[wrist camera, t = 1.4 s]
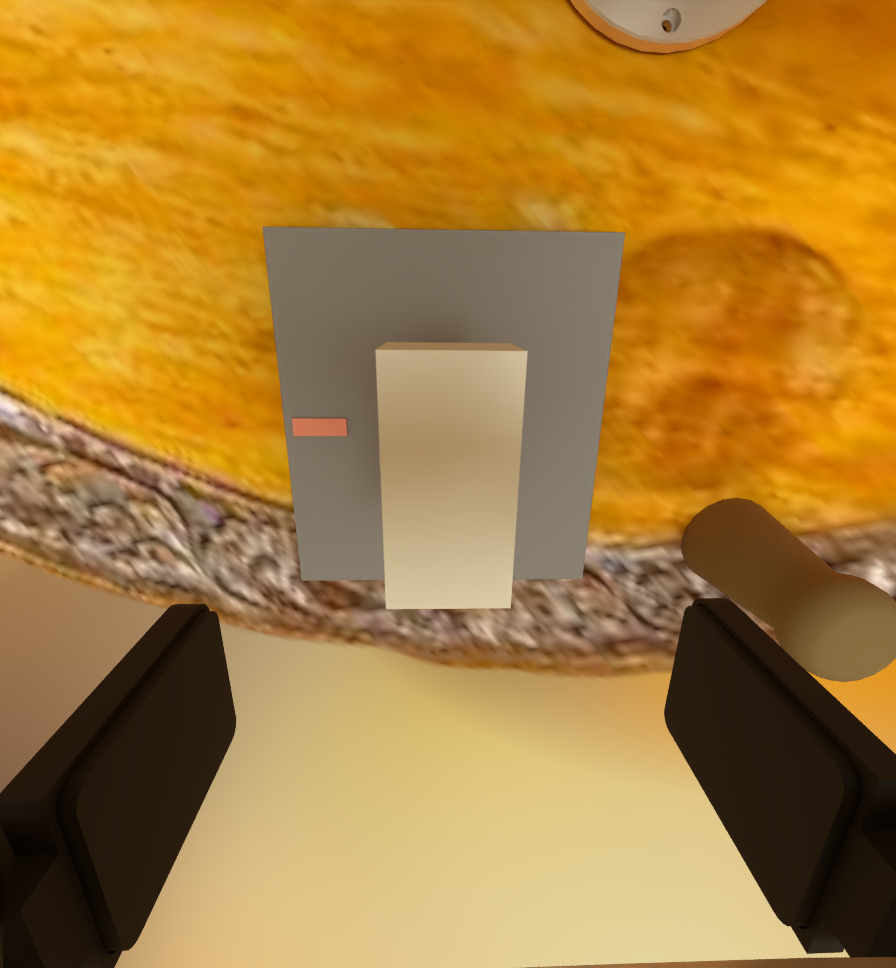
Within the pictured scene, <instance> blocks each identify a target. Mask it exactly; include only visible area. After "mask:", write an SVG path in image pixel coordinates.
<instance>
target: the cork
mask: <svg viewBox="0 0 896 968" xmlns="http://www.w3.org/2000/svg"><path fill="white" fill-rule="evenodd" d="M682 554H683V557H684V560H685V563H686V564H687V565H688V566H689V568H690V569H691V570H692V571H693V572H694V573H696V574H697V575H699V576H700V577H701V578H703V579H704V580H706V581H707V582H708V583H710V584H711V585H713V586H714V587H716V588H717V589H718V590H720V591H721V592H723V593H724V594H726V595H727V596H728V597H730V598H731V599H733V600H734V601H735V602H737V603H738V604H740V605H741V606H743V607H744V608H745V609H747V610H748V611H750V612H751V613H753V614H754V615H755V616H757V617H758V618H760V619H761V620H762V621H764V622H765V623H767V624H768V625H770V626H771V627H772V628H774V632H775V635H776V639H777V640H778V642H779V644H780V646H781V647H782V649H784V650H785V651H786V652H787V653H788V654H789V655H790V656H791V657H792V658H793V659H794V660H795V661H796V662H797V663H799V664H800V665H801V666H802V667H803V668H804V669H805V670H806V671H808V672H810V673H812V674H814V675H816V676H819V677H820V678H824V679H828V680H833V681H841V682H848V681H856V680H861V679H863V678H866V677H869V676H872V675H874V674H876V673H877V672H879V671H881V670H882V669H884V668H886V667H887V666H888V665H889V664H890V663H891V662H892V661H893V660H894V659H895V658H896V602H895V601H894V599H893V598H892V597H891V596H890V595H889V594H888V593H887V592H885V591H883V590H882V589H880V588H878V587H877V586H875V585H873V584H871V583H870V582H868V581H866V580H864V579H862V578H859V577H855V576H852V575H847V574H841V573H836V572H835V571H834V570H833V569H832V568H831V567H829V566H828V565H827V564H826V563H825V562H824V561H823V560H822V559H820V558H819V557H818V556H817V555H816V554H815V553H814V552H812V551H811V550H810V549H809V548H808V547H807V546H806V545H805V544H803V543H802V542H801V541H800V540H799V539H798V538H797V537H796V536H794V535H793V534H792V533H791V532H790V531H789V530H788V529H786V528H785V527H784V526H783V525H782V524H781V523H780V522H779V521H777V520H776V519H775V518H774V517H773V516H772V515H771V514H769V513H768V512H767V511H766V510H765V509H764V508H763V507H761V506H760V505H758V504H756V503H754V502H753V501H751V500H745V499H740V498H734V499H727V500H721V501H719V502H717V503H714V504H712V505H710V506H708V507H706V508H705V509H704V510H702V511H701V512H700V513H699V514H697V515H696V516H695V517H694V519H693V520H692V521H691V523H690V524H689V525H688V526H687V529H686V531H685V534H684V536H683V539H682Z"/></svg>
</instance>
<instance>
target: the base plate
mask: <svg viewBox="0 0 896 968" xmlns="http://www.w3.org/2000/svg"><path fill="white" fill-rule="evenodd" d="M263 234H264V243H265V252H266V261H267V270H268V279H269V288H270V297H271V306H272V315H273V324H274V334H275V343H276V352H277V361H278V370H279V379H280V388H281V397H282V406H283V415H284V424H285V433H286V442H287V451H288V460H289V469H290V478H291V487H292V496H293V505H294V514H295V523H296V532H297V541H298V551H299V560H300V569H301V578H302V580H385V571H384V547H383V522H382V498H381V474H380V460H379V457H380V449H379V425H378V400H377V376H376V351H375V350H376V349H377V348H379V347H380V346H382V345H383V344H385V343H386V342H436V343H510V344H513V345H515V346H517V347H519V348H522V349H524V350H526V351H528V352H527V367H526V382H525V397H524V413H523V428H522V443H521V458H520V473H519V488H518V503H517V518H516V534H515V549H514V564H513V579H582V575H583V567H584V559H585V551H586V543H587V535H588V527H589V519H590V511H591V503H592V495H593V487H594V479H595V471H596V463H597V455H598V446H599V438H600V430H601V422H602V414H603V406H604V398H605V390H606V382H607V374H608V366H609V358H610V350H611V342H612V334H613V326H614V318H615V310H616V302H617V294H618V286H619V278H620V269H621V261H622V253H623V245H624V237H625V233H623V232H561V231H499V230H437V229H375V228H313V227H263Z"/></svg>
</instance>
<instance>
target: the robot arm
mask: <svg viewBox="0 0 896 968" xmlns="http://www.w3.org/2000/svg"><path fill="white" fill-rule="evenodd" d="M766 1H767V0H571V2H572V4H573V5H574V7H575V8H576V9H577V10H578V11H579V12H580V14H581V15H582V16H583V17H584V18H585V19H586V20H587V21H588V22H589V23H590V24H591V25H592V26H593V27H594V28H595V29H597V30H598V31H600V32H601V33H603V34H604V35H606V36H607V37H609V38H610V39H612V40H614V41H615V42H617V43H619V44H622V45H625V46H628V47H631V48H634V49H636V50H639V51H646V52H658V53H670V52H677V51H683V50H690V49H693V48H696V47H698V46H701V45H704V44H706V43H709V42H711V41H714V40H716V39H718V38H720V37H721V36H723V35H724V34H726V33H727V32H729V31H731V30H732V29H734V28H735V27H737V26H738V25H740V24H741V23H742V22H744V21H745V20H746V19H747V18H748V17H749V16H750V15H751V14H753V13H754V12H755V11H756V10H757V9H758V8H759V7H761V6H762V5H763V4H764V3H765V2H766ZM662 25H663V26H665V27H666V29H667V32H665V31H664V29H663V28H662ZM664 715H665V721H666V725H667V728H668V730H669V732H670V733H671V735H672V737H673V739H674V740H675V742H676V744H677V745H678V747H679V749H680V751H681V752H682V754H683V756H684V758H685V759H686V761H687V763H688V765H689V766H690V768H691V770H692V771H693V773H694V775H695V777H696V778H697V780H698V781H699V783H700V785H701V787H702V789H703V790H704V792H705V794H706V796H707V797H708V799H709V801H710V802H711V804H712V806H713V807H714V809H715V811H716V813H717V815H718V816H719V818H720V820H721V822H722V823H723V825H724V827H725V828H726V830H727V832H728V834H729V835H730V837H731V839H732V840H733V842H734V844H735V846H736V847H737V849H738V851H739V853H740V854H741V856H742V858H743V859H744V861H745V863H746V865H747V866H748V868H749V870H750V871H751V873H752V875H753V877H754V878H755V880H756V882H757V884H758V885H759V887H760V889H761V891H762V892H763V894H764V896H765V897H766V899H767V901H768V902H769V904H770V906H771V908H772V910H773V911H774V913H775V914H776V916H777V917H778V919H779V920H780V921H781V922H782V923H783V924H785V925H786V926H791V927H792V929H793V931H794V933H795V934H796V936H797V938H798V939H799V941H800V942H801V944H802V946H803V947H804V949H805V951H806V953H807V954H808V953H809V954H810V953H836V952H843V950H844V949H845V950H846V952H847V953H848V955H849V956H850V958H791V959H759V960H730V961H729V960H728V961H700V962H699V961H697V962H668V963H636V964H609V965H608V964H607V965H583V966H581V965H580V966H557V967H556V966H555V967H529V968H896V754H895V753H894V752H893V751H891V750H890V749H889V748H888V747H887V746H886V745H885V744H884V743H883V742H882V741H881V740H880V739H879V738H878V737H876V736H875V735H874V734H873V733H872V732H871V731H870V730H869V729H868V728H867V727H866V726H865V725H864V724H863V723H862V722H860V721H859V720H858V719H857V718H856V717H855V716H854V715H853V714H852V713H851V712H850V711H849V710H847V708H846V707H844V706H843V705H842V704H841V703H840V702H839V701H838V700H837V699H836V698H835V697H834V696H833V695H832V694H831V693H829V692H828V691H827V690H826V689H825V688H824V687H823V686H822V685H821V684H820V683H819V682H818V681H817V680H816V679H815V678H813V677H812V676H811V675H810V674H809V673H808V672H807V671H806V670H805V669H804V668H803V667H802V666H801V665H800V664H799V663H797V662H796V661H795V660H794V659H793V658H792V657H791V656H790V655H789V654H788V653H787V652H786V651H785V650H784V649H782V648H781V647H780V646H779V645H778V644H777V643H776V642H775V641H774V640H773V639H772V638H771V637H770V636H769V635H768V634H766V633H765V632H764V631H763V630H762V629H761V628H760V627H759V626H758V625H757V624H756V623H755V622H754V621H753V620H751V619H750V618H749V617H748V616H747V615H746V614H745V613H744V612H743V611H742V610H741V609H740V608H739V607H738V606H737V605H735V604H734V603H733V602H732V601H731V600H729V599H726V598H699V599H696V600H695V601H694V602H693V604H692V606H688V607H687V608H686V609H685V612H684V616H683V621H682V626H681V631H680V636H679V641H678V645H677V650H676V655H675V660H674V665H673V670H672V675H671V680H670V685H669V690H668V695H667V699H666V705H665V710H664ZM235 728H236V715H235V710H234V704H233V698H232V693H231V687H230V681H229V675H228V669H227V664H226V658H225V653H224V647H223V641H222V636H221V630H220V624H219V618H218V615H217V613H216V612H214V611H209V608H208V607H207V605H205V604H175V605H172V606H170V607H169V608H168V609H167V610H166V612H165V613H164V614H163V615H162V616H161V617H160V618H159V619H158V620H157V621H156V622H155V624H154V625H153V626H152V627H151V628H150V629H149V630H148V631H147V632H146V633H145V634H144V636H143V637H142V638H141V639H140V640H139V641H138V642H137V643H136V645H135V646H134V647H133V648H132V649H131V650H130V651H129V652H128V653H127V654H126V655H125V657H124V658H123V659H122V660H121V661H120V662H119V663H118V664H117V665H116V666H115V667H114V669H113V670H112V671H111V672H110V673H109V674H108V675H107V676H106V677H105V679H104V680H103V681H102V682H101V683H100V684H99V685H98V686H97V687H96V689H95V690H94V691H93V692H92V693H91V694H90V695H89V696H88V697H87V698H86V699H85V701H84V702H83V703H82V704H81V705H80V706H79V707H78V708H77V709H76V710H75V712H74V713H73V714H72V715H71V716H70V717H69V718H68V719H67V720H66V722H65V723H64V724H63V725H62V726H61V727H60V728H59V729H58V730H57V731H56V733H55V734H54V735H53V736H52V737H51V738H50V739H49V740H48V741H47V742H46V744H45V745H44V746H43V747H42V748H41V749H40V750H39V751H38V752H37V753H36V754H35V756H34V757H33V758H32V759H31V760H30V761H29V762H28V763H27V764H26V765H25V767H24V768H23V769H22V770H21V771H20V772H19V773H18V774H17V775H16V776H15V778H14V779H13V780H12V781H11V782H10V783H9V784H8V785H7V786H6V788H5V789H4V790H3V791H2V792H1V793H0V968H114V967H115V965H116V963H117V961H118V959H119V957H120V955H121V952H122V951H125V950H129V949H131V948H132V947H133V945H134V944H135V943H136V941H137V940H138V938H139V936H140V934H141V932H142V930H143V928H144V926H145V924H146V921H147V919H148V917H149V915H150V913H151V911H152V909H153V907H154V904H155V902H156V900H157V898H158V896H159V894H160V892H161V890H162V888H163V885H164V883H165V881H166V879H167V877H168V874H169V873H170V871H171V869H172V866H173V864H174V862H175V860H176V858H177V856H178V853H179V851H180V849H181V847H182V845H183V843H184V841H185V839H186V837H187V834H188V832H189V830H190V828H191V826H192V824H193V822H194V820H195V818H196V815H197V813H198V811H199V809H200V807H201V805H202V803H203V801H204V799H205V797H206V794H207V792H208V790H209V788H210V786H211V784H212V782H213V780H214V777H215V775H216V773H217V771H218V769H219V767H220V765H221V763H222V761H223V758H224V756H225V754H226V752H227V750H228V748H229V746H230V743H231V741H232V739H233V736H234V733H235Z"/></svg>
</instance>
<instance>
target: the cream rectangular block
mask: <svg viewBox="0 0 896 968" xmlns="http://www.w3.org/2000/svg"><path fill="white" fill-rule="evenodd" d="M375 351H376V376H377V400H378V425H379V449H380V457H379V460H380V474H381V498H382V522H383V547H384V571H385V596H386V609H457V608H511V594H512V579H513V564H514V549H515V534H516V518H517V503H518V488H519V473H520V458H521V443H522V428H523V413H524V397H525V382H526V367H527V352H528V351H526V350H524V349H522V348H519V347H517V346H515V345H513V344H510V343H436V342H386V343H385V344H383V345H382V346H380V347H379V348H377V349H376V350H375Z"/></svg>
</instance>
